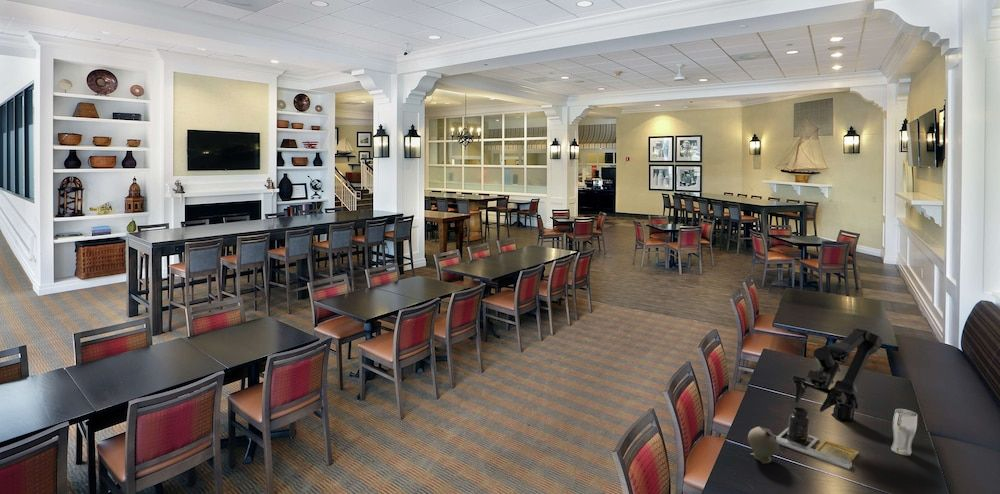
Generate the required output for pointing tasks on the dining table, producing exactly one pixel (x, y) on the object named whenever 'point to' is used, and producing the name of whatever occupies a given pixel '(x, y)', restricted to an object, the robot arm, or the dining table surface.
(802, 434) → the supplement bottle
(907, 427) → the beer glass
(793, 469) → the dining table surface
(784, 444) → the tray
